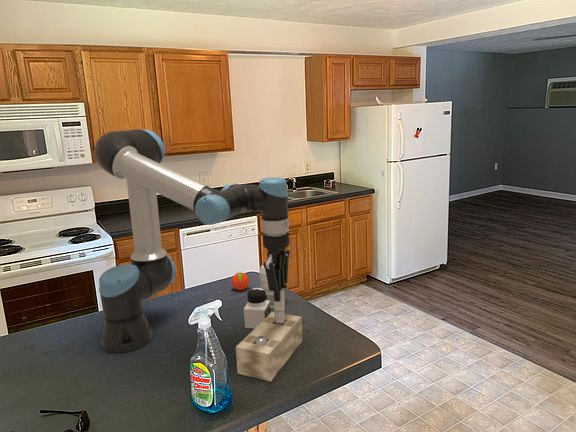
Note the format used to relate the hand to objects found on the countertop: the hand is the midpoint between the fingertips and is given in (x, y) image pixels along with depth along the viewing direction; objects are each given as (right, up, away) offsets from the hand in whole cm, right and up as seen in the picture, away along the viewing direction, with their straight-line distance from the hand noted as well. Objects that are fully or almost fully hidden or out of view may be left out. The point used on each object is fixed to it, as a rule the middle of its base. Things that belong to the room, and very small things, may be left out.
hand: (279, 309), depth 126 cm
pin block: (-2, -13, -2) cm, 13 cm away
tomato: (-16, -2, +45) cm, 48 cm away
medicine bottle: (-7, -9, +17) cm, 20 cm away
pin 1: (-5, -13, -8) cm, 16 cm away
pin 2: (0, -8, +2) cm, 8 cm away
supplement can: (-3, -5, +31) cm, 32 cm away
